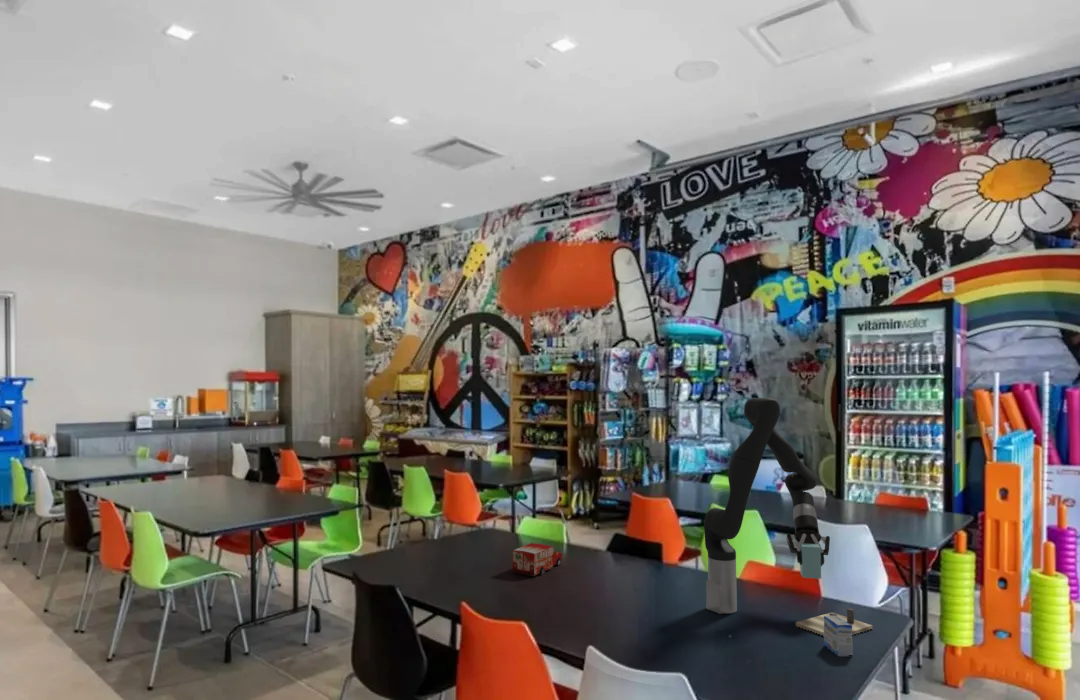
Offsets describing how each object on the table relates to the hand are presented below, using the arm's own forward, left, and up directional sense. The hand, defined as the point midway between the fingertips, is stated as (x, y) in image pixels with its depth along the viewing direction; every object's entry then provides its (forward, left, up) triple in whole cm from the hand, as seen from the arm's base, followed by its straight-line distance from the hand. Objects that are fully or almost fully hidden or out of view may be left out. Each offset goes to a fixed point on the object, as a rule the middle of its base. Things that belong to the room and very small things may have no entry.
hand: (811, 564), depth 218 cm
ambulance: (-48, +94, -17) cm, 107 cm away
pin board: (-3, -10, -17) cm, 20 cm away
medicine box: (-18, -22, -17) cm, 33 cm away
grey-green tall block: (+1, +1, -4) cm, 5 cm away
